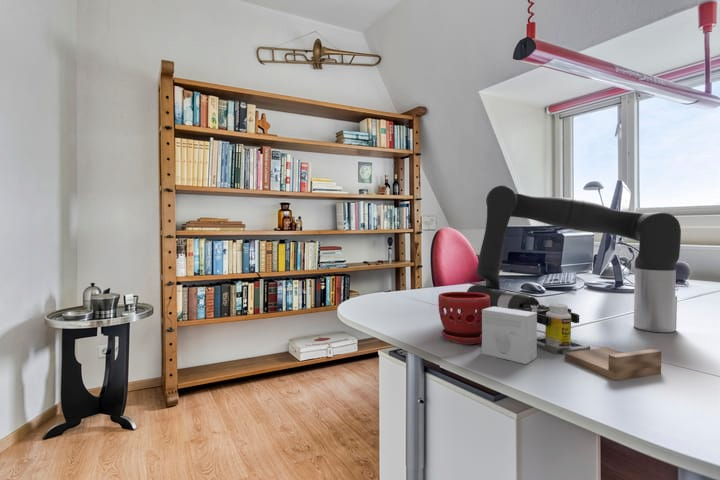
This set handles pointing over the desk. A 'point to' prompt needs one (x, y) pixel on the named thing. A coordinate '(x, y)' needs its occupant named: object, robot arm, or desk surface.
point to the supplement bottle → (558, 327)
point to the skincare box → (509, 334)
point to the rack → (618, 362)
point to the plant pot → (462, 316)
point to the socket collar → (563, 350)
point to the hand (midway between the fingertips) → (564, 320)
